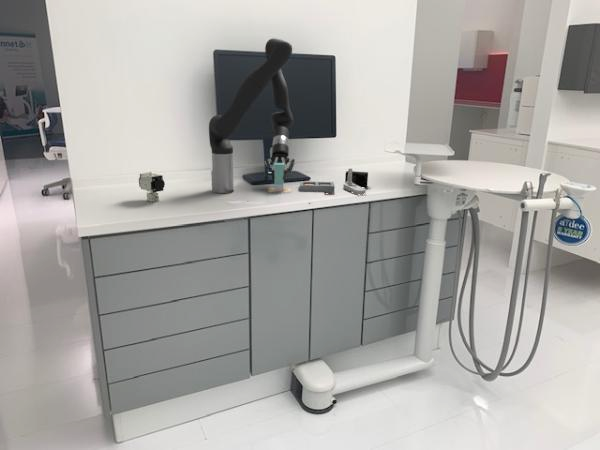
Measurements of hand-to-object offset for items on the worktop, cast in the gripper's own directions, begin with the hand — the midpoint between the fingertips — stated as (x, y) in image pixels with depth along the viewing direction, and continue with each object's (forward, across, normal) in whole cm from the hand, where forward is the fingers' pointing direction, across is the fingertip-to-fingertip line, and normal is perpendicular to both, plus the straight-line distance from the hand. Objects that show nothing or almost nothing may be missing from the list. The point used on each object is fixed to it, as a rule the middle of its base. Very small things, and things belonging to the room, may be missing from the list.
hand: (279, 179), depth 211 cm
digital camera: (-7, +36, +17) cm, 41 cm away
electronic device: (0, +34, +10) cm, 36 cm away
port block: (0, +17, +9) cm, 19 cm away
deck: (+3, 0, +6) cm, 7 cm away
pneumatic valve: (+18, -51, -8) cm, 55 cm away
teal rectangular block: (+3, 0, +5) cm, 6 cm away
